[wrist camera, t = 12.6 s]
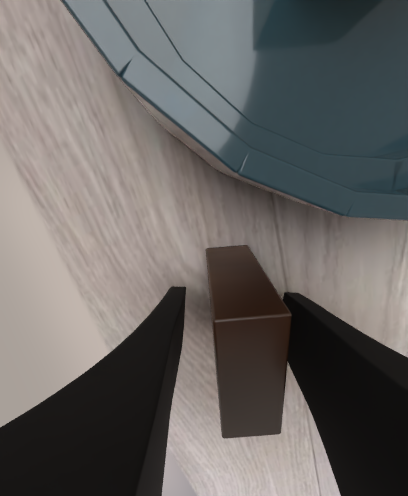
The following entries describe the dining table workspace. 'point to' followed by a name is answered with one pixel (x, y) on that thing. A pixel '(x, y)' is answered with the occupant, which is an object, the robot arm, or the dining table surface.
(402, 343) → the dining table surface
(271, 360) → the flat brown block
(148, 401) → the robot arm
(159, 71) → the bowl
